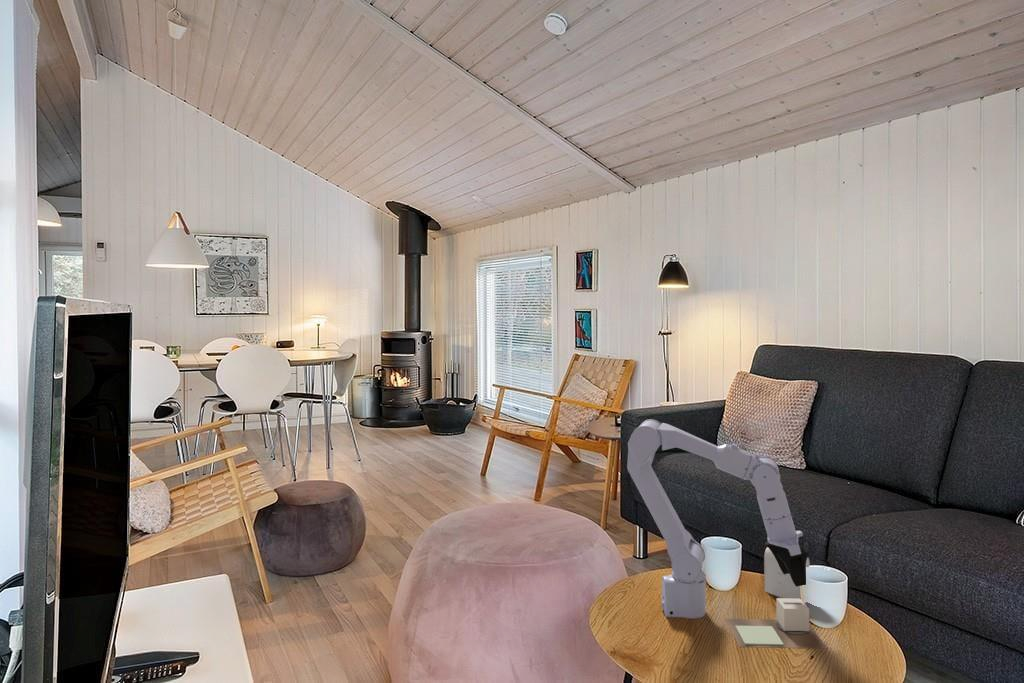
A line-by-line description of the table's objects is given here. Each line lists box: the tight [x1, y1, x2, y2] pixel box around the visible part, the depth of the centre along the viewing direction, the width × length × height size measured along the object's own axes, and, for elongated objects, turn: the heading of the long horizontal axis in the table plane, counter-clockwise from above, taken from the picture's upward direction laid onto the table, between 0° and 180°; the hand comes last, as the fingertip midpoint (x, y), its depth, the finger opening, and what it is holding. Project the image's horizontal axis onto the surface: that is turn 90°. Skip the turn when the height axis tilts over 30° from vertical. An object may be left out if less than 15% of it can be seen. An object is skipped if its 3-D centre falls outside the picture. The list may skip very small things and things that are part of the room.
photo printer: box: [763, 546, 811, 599], centre depth 156 cm, size 10×4×12 cm, turn 39°
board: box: [724, 618, 829, 650], centre depth 139 cm, size 17×12×1 cm
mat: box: [735, 626, 784, 646], centre depth 137 cm, size 8×8×1 cm
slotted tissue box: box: [775, 597, 810, 631], centre depth 141 cm, size 5×5×5 cm
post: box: [776, 622, 809, 635], centre depth 141 cm, size 6×6×4 cm
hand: (794, 578), depth 141 cm, fingers open, 7 cm apart
